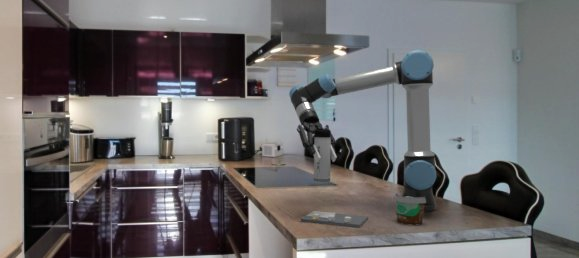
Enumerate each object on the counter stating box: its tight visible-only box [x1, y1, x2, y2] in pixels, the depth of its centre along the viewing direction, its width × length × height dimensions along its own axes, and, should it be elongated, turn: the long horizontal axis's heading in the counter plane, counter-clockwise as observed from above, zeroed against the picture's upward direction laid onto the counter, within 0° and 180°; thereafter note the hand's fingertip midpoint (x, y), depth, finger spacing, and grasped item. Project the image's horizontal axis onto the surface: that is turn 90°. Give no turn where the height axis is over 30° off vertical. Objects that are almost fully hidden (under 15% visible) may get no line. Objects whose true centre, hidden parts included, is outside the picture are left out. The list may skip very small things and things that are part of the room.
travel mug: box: [313, 128, 332, 183], centre depth 165 cm, size 6×7×20 cm
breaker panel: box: [300, 210, 369, 228], centre depth 161 cm, size 22×14×2 cm, turn 68°
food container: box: [393, 192, 426, 226], centre depth 158 cm, size 12×6×10 cm, turn 45°
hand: (326, 159), depth 162 cm, fingers closed on travel mug, 6 cm apart
